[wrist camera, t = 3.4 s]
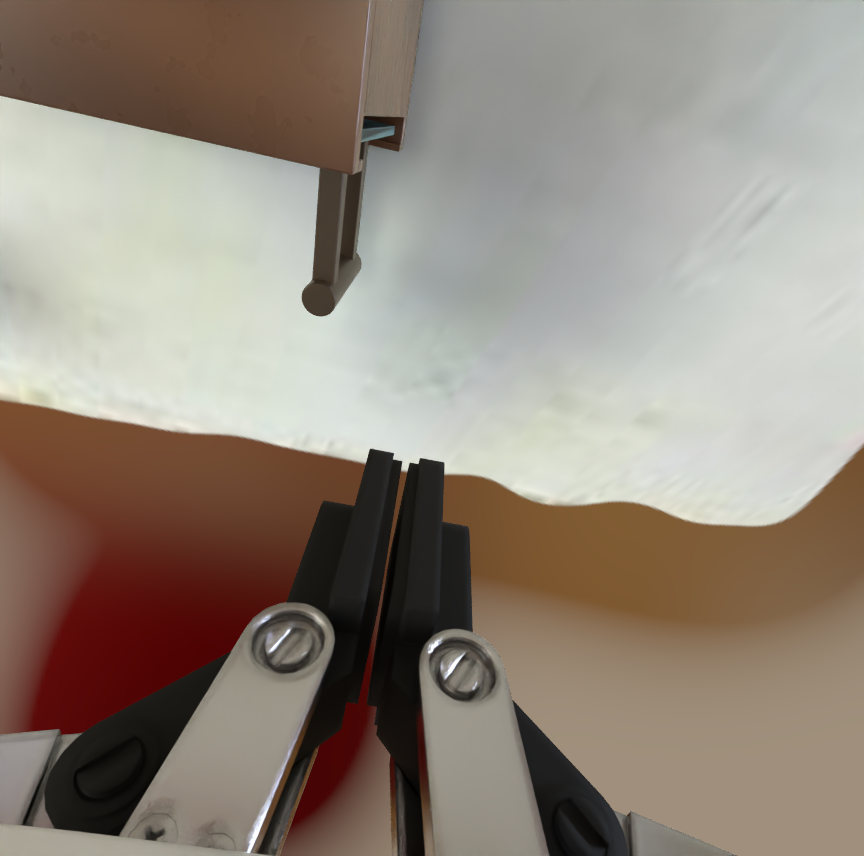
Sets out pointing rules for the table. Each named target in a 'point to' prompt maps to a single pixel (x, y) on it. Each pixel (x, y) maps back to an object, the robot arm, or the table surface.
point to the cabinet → (222, 69)
